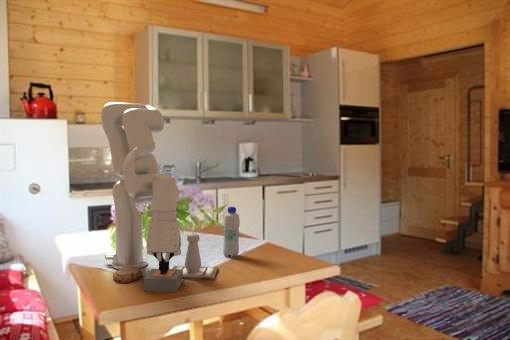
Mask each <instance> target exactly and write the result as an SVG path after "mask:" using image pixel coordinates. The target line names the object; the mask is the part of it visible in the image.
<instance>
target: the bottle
mask: <svg viewBox="0 0 510 340" xmlns="http://www.w3.org/2000/svg"><path fill="white" fill-rule="evenodd" d="M240 223H241V221H240V214H238V213H237V208H236V207H235V206H228V207H227V213H225V214H224V215H223V221H222V224H223V225H222V226H223V244H222V245H223V246H222V247H223V249H222V251H223V252H222V253H223V255H224V256H225V257H227V258H229V257H231V258H233V257H237V256H238V255H239V252H240V247H239V245H240V243H239V239H240V238H239V237H240V235H239V233H240V232H239V229H240V226H241V225H240Z"/></svg>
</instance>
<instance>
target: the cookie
mask: <svg viewBox="0 0 510 340" xmlns="http://www.w3.org/2000/svg"><path fill="white" fill-rule="evenodd" d="M143 276H144V273H143V271H142V269H140V268H138V269H137V268H132V267H130V268H125V269H124V268H123V269H118V270H117V271H115V272H113V274H112V278H113V279H112V281H113V282H116V283H118V284H120V283H121V284H126V283H132V282H133V281H137V280H138V279H139V278H142V277H143Z"/></svg>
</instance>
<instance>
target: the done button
mask: <svg viewBox="0 0 510 340" xmlns="http://www.w3.org/2000/svg"><path fill="white" fill-rule="evenodd" d="M175 272H176V270H169V271H168V272H167V273H166V274H160V271H159V270H157V271H156V272H155V273H154V274H153V275H152V277H173V275H174V274H175Z"/></svg>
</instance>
